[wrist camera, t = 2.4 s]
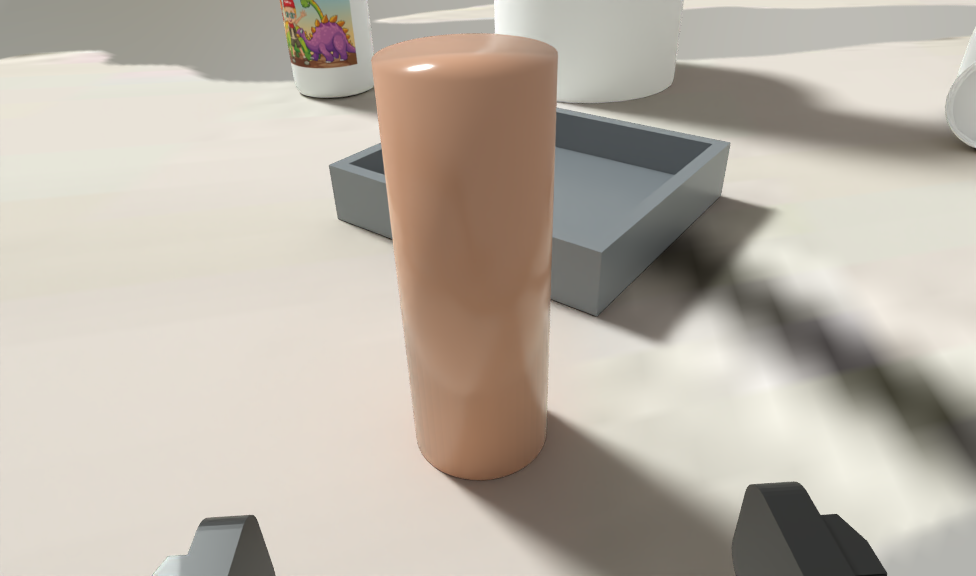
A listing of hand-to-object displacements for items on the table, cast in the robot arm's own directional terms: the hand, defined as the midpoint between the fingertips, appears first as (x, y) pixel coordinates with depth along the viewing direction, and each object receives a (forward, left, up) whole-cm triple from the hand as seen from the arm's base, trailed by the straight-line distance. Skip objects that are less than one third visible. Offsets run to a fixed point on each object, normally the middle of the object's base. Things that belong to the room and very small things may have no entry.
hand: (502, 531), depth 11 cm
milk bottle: (-46, +37, -9) cm, 60 cm away
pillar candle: (-7, +9, -9) cm, 15 cm away
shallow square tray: (-16, +26, -9) cm, 32 cm away
